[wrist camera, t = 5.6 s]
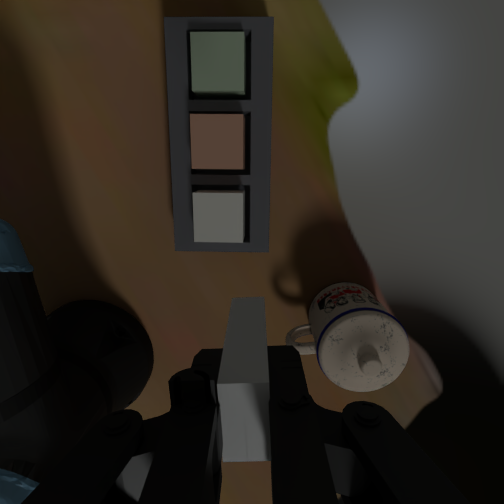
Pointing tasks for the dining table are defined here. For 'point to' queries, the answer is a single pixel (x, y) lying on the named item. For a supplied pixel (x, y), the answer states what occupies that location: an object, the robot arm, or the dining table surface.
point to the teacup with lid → (353, 338)
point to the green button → (218, 64)
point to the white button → (219, 216)
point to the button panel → (251, 107)
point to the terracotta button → (217, 141)
